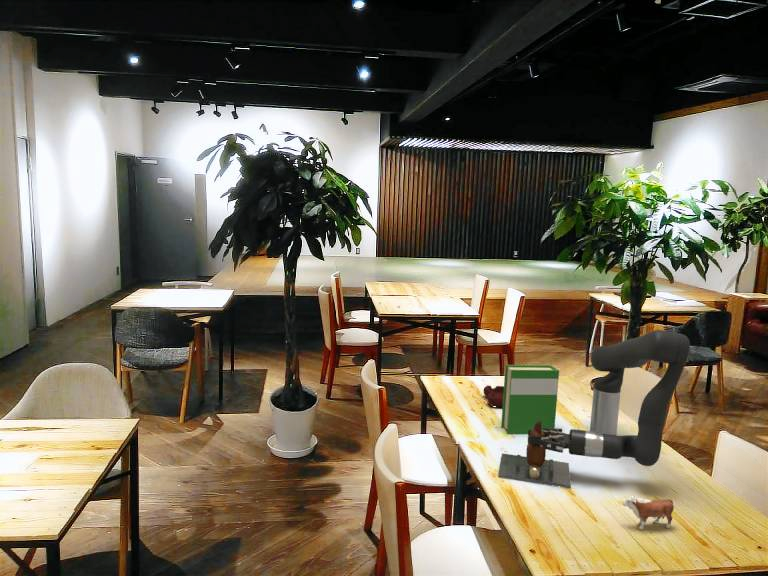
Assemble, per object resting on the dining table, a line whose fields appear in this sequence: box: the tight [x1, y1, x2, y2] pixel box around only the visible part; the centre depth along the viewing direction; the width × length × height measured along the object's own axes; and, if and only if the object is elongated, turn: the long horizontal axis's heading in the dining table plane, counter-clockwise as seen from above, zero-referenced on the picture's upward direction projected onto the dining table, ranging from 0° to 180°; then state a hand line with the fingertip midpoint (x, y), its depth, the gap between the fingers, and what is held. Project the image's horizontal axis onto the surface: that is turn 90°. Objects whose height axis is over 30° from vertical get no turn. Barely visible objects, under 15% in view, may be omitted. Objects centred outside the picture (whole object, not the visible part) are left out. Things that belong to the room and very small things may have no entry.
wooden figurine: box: [525, 420, 547, 467], centre depth 178 cm, size 7×6×15 cm
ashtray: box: [483, 385, 504, 408], centre depth 244 cm, size 18×16×5 cm
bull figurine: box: [622, 495, 675, 531], centre depth 149 cm, size 4×13×8 cm, turn 95°
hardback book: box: [500, 364, 560, 435], centre depth 212 cm, size 18×7×24 cm, turn 96°
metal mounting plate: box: [497, 453, 572, 489], centre depth 179 cm, size 16×21×4 cm
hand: (528, 436), depth 178 cm, fingers closed on wooden figurine, 5 cm apart
